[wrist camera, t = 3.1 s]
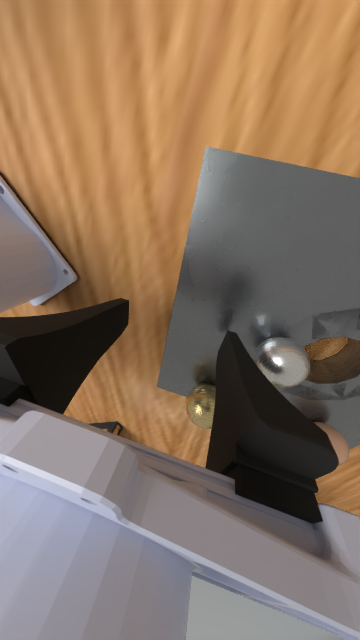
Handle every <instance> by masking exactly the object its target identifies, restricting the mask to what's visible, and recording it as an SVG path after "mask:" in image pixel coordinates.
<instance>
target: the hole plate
mask: <svg viewBox="0 0 360 640" xmlns="http://www.w3.org/2000/svg"><path fill="white" fill-rule="evenodd" d="M227 330H229V331H232V332H235V333H237V335H238V336H239V338H240V340H241V342H242V343H243V345H244V347H245V348H246V350H247V352H248V353H249V355H250V356H251V358H252V359H254V353H255V350H256V348H257V347H258V345H259V344H260V343H262V342H263V341H264V340H266V339H269V338H273V337H284V338H288V339H291V340H293V341H295V342H297V343H298V344H300V345H301V346H302V347H304V346H306V345H309V344H311V343H313V342H315V341H317V340H319V339H322V338H333V337H343V336H345V337H348V344H347V345H346V346H345V347H344V348H343V349H342V350H341V351H340V352H339V353H338V354H336V355H334V356H331V357H329V358H326V359H324V360H318V361H310V363H311V367H310V372H309V374H308V376H307V378H306V379H305V380H304V381H303V382H302V383H300V384H298V385H296V386H293V387H278V386H275V385H273V386H274V387H275V388H276V389H277V390H278V391H279V392H280V393H281V394H282V395H283V396H284V397H285V398H286V399H287V400H288V401H289V402H290V403H291V404H293V405H294V406H295V407H296V408H297V409H298V410H299V411H300V412H301V413H303V414H304V415H305V416H306V417H307V418H309V419H310V420H311V421H312V422H323V423H326V424H329V425H330V426H332V427H334V428H335V429H337V430H338V431H339V432H340V433H341V434H342V436H343V437H344V438H345V440H346V442H347V444H348V447H349V450H350V449H352V448H354V447H356V446H358V445H360V178H355V177H350V176H346V175H341V174H336V173H331V172H326V171H322V170H317V169H312V168H307V167H302V166H298V165H293V164H288V163H283V162H278V161H273V160H269V159H264V158H259V157H254V156H249V155H245V154H240V153H235V152H230V151H225V150H221V149H216V148H211V147H206V148H205V153H204V158H203V163H202V168H201V172H200V177H199V182H198V187H197V192H196V197H195V202H194V207H193V212H192V217H191V222H190V227H189V231H188V236H187V241H186V246H185V251H184V256H183V261H182V266H181V271H180V276H179V281H178V286H177V291H176V295H175V300H174V305H173V310H172V315H171V320H170V325H169V330H168V335H167V340H166V345H165V350H164V354H163V359H162V364H161V369H160V374H159V379H158V384H157V387H159V388H162V389H165V390H168V391H171V392H174V393H177V394H180V395H183V396H186V397H187V396H188V394H189V392H190V391H191V390H192V389H193V388H194V387H195V386H197V385H199V384H211V385H213V386H215V387H216V360H217V354H218V350H219V348H220V346H221V344H222V341H223V339H224V337H225V335H226V333H227ZM253 361H254V360H253Z"/></svg>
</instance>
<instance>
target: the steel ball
mask: <svg viewBox="0 0 360 640" xmlns="http://www.w3.org/2000/svg"><path fill="white" fill-rule="evenodd" d="M253 360H254V362H255V364H256V365H257V366H258V368H259V369H260V370H261V372H262V373H263V374H264V375H265V376H266V378H267V379H268V380H269V381H270V382H271V383H272V384H273V385H275V386H278V387H293V386H296V385H298V384H300V383H302V382H303V381H304V380H305V379H306V378H307V376H308V374H309V372H310V367H311V363H310V358H309V356H308V354H307V352H306V351H305V349H304V348H303V347H302V346H301V345H300V344H298V343H297V342H295V341H293V340H291V339H288V338H284V337H273V338H269V339H266V340H264V341H263V342H262V343H260V344H259V345H258V347H257V348H256V350H255V353H254V359H253Z"/></svg>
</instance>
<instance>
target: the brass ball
mask: <svg viewBox="0 0 360 640" xmlns="http://www.w3.org/2000/svg"><path fill="white" fill-rule="evenodd" d="M215 395H216V387H215V386H213V385H211V384H199V385H197V386H195V387H194V388H193V389H192V390H191V391H190V392H189V394H188V396H187V399H186V410H187V414H188V416H189V418H190V419H191V421H192V422H193V423H194V424H195V425H197V426H198V427H201V428H204V429H212V422H213V415H214V406H215Z"/></svg>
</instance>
